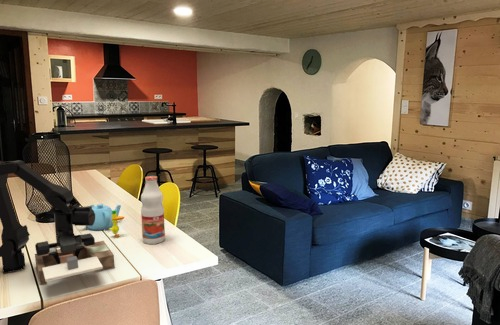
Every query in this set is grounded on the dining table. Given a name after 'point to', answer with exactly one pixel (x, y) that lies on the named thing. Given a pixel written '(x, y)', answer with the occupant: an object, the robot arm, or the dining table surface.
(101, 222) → the teapot
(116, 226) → the toy figure
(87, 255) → the brown shallow open box
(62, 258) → the block
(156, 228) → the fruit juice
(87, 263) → the cover
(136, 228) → the dining table surface
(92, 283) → the dining table surface
